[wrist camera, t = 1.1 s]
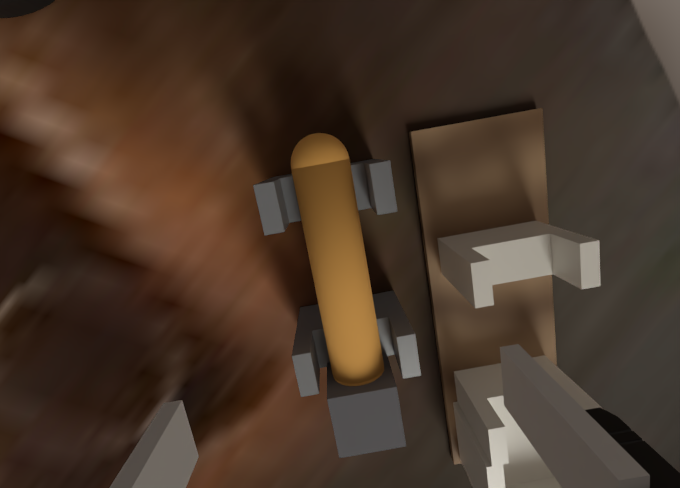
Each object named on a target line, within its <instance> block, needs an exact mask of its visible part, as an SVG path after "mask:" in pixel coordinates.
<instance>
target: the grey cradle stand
mask: <svg viewBox="0 0 680 488" xmlns="http://www.w3.org/2000/svg"><path fill="white" fill-rule="evenodd" d="M350 165H351V171H352V177H353V182H354V188H355V194H356V200H357V206H358V210H363V209H368V208H372V209H373V210H374V212H375V213H376V214H377V215H381V214H386V213H392V212H397V205H396V199H395V192H394V185H393V178H392V171H391V164H390V160H379V159H370V160H365V161H359V162H354V163H350ZM253 186H254V191H255V195H256V200H257V204H258V208H259V213H260V217H261V222H262V226H263V231H264V235H270V234H275V233H281V232H285V230H286V228H287V226H288V224H289V223H291V222H296V221H301V216H300V211H299V206H298V201H297V196H296V191H295V186H294V181H293V176H292V174H288V175H282V176H277V177H272V178H269V179H267V180H265V181H262V182H260V183H258V184H255V185H253ZM372 296H373V302H374V308H375V314H376V320H377V326H378V332H379V338H380V344H381V350H382V353H385V352H386V354H387V356H389V355H394V354H395V357H396V360H397V363H398V365H399V368H400V371H401V374H402V377H403V379H404V378H410V377H415V376H421V371H420V365H419V358H418V351H417V344H416V337H415V333H414V331H413V329H412V327H411V325H410V323H409V321H408V319H407V317H406V315H405V313H404V311H403V309H402V307H401V305H400V303H399V301H398V299H397V297H396V295H395V292H394V291H388V292H383V293H377V294H372ZM292 359H293V363H294V368H295V372H296V377H297V381H298V386H299V390H300V394H301V397H303V396H309V395H315V394H319V378H320V368H322V367H327V363H329V362H330V359H329V354H328V349H327V344H326V339H325V334H324V329H323V325H322V320H321V315H320V310H319V305H318V304H316V305H310V306H305V307H300V311H299V317H298V323H297V329H296V334H295V340H294V346H293V352H292Z"/></svg>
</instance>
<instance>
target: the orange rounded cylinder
mask: <svg viewBox="0 0 680 488" xmlns="http://www.w3.org/2000/svg"><path fill="white" fill-rule="evenodd" d="M291 171H292V176H293V181H294V186H295V191H296V196H297V201H298V206H299V211H300V216H301V221H302V226H303V230H304V235H305V240H306V245H307V250H308V255H309V260H310V265H311V270H312V275H313V280H314V285H315V290H316V295H317V300H318V305H319V310H320V315H321V320H322V325H323V329H324V334H325V339H326V344H327V349H328V354H329V359H330V362H329V363H327V400H328V405H329V410H330V415H331V420H332V424H333V429H334V434H335V439H336V444H337V448H338V453H339V458H343V457H349V456H354V455H360V454H366V453H371V452H377V451H382V450H388V449H394V448H399V447H405V446H406V442H405V436H404V430H403V423H402V417H401V411H400V405H399V399H398V392H397V387H396V383H395V380H394V377H393V373H392V370H391V367H390V363H389V360H388V357H387V354H386V352H385V353H382V350H381V344H380V338H379V332H378V326H377V320H376V314H375V308H374V302H373V296H372V290H371V284H370V278H369V272H368V266H367V260H366V254H365V248H364V242H363V236H362V230H361V224H360V218H359V212H358V206H357V200H356V194H355V188H354V182H353V177H352V171H351V165H350V159H349V155H348V152H347V150H346V148H345V146H344V145H343V144H342V142H341V141H339V140H338V139H337V138H335V137H334V136H332V135H329V134H326V133H314V134H310V135H308V136H306V137H304V138H303V139H302V140H300V141H299V142H298V144H297V145H296V146H295V148H294V150H293V152H292V156H291Z"/></svg>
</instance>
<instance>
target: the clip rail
mask: <svg viewBox="0 0 680 488" xmlns="http://www.w3.org/2000/svg"><path fill="white" fill-rule="evenodd" d="M409 139H410V147H411V154H412V162H413V170H414V177H415V185H416V192H417V200H418V207H419V215H420V223H421V230H422V238H423V245H424V253H425V260H426V268H427V276H428V283H429V291H430V298H431V306H432V314H433V321H434V329H435V336H436V344H437V351H438V359H439V367H440V374H441V382H442V389H443V397H444V405H445V412H446V420H447V427H448V435H449V442H450V450H451V458H452V460H453V463H454V465H455V464H460V463H462V462H461V460H460V454H459V446H458V438H457V430H456V422H455V414H454V407H453V402H457V394H456V386H455V378H454V371H459V370H465V369H470V368H476V367H481V366H487V365H493V364H498V363H501V356H500V347H503V346H509V345H515V344H519V345H520V346H521V347H522V348H523V349H524V350H525V351H526V352H527V353H528V354H529V355H530V356H531V357H538V356H543V355H545V356H546V357H547V358H548V359H549V360H550V361H552V362H553V363H554V364H555V365H556V366H557V360H556V342H555V324H554V307H553V289H552V275H546V276H541V277H535V278H530V279H524V280H519V281H513V282H507V283H502V284H496V285H492V288H493V299H494V305H492V306H486V307H481V308H474V307H473V306H472V304H471V303H470V302H469V301H468V300H467V299H466V298H465V297H464V296H463V295H462V294H461V293H460V292H459V291H458V290H457V289H456V288H455V287H454V286H453V285H452V284H451V283H450V282H449V281H448V280H447V279H446V278H445V277H444V276H443V275H442V272H441V264H440V256H439V248H438V240H437V238H442V237H448V236H454V235H459V234H465V233H470V232H476V231H481V230H487V229H492V228H498V227H503V226H509V225H515V224H520V223H526V222H531V221H539V222H542V223H545V224H549V217H548V200H547V182H546V164H545V146H544V128H543V110H542V108H539V109H533V110H528V111H522V112H517V113H511V114H506V115H500V116H495V117H489V118H484V119H478V120H473V121H467V122H462V123H456V124H451V125H445V126H440V127H434V128H429V129H423V130H418V131H412V132H409Z"/></svg>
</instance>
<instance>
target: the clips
mask: <svg viewBox="0 0 680 488" xmlns="http://www.w3.org/2000/svg"><path fill="white" fill-rule="evenodd" d="M437 240H438V248H439V256H440V264H441V272H442V275H443V276H444V277H445V278H446V279H447V280H448V281H449V282H450V283H451V284H452V285H453V286H454V287H455V288H456V289H457V290H458V291H459V292H460V293H461V294H462V295H463V296H464V297H465V298H466V299H467V300H468V301H469V302H470V303H471V304H472V306H473V307H474V308H481V307H486V306H492V305H494V299H493V288H492V285H496V284H502V283H507V282H513V281H519V280H524V279H530V278H535V277H541V276H546V275H552V274H553V275H555V276H557V277H559V278H561V279H563V280H565V281H567V282H569V283H570V284H572V285H574V286H576V287H578V288H580V289H587V288H592V287H598V286H600V251H599V240H596V239H593V238H590V237H587V236H584V235H581V234H577V233H574V232H571V231H568V230H565V229H561V228H558V227H555V226H552V225H549V224H545V223H542V222H539V221H531V222H526V223H520V224H515V225H509V226H503V227H498V228H492V229H487V230H481V231H476V232H470V233H465V234H459V235H454V236H448V237H442V238H437ZM532 358H533V359H534V360H535V361H536V362H537V363H538V364H539V365H540V366H541V367H542V368H543V369H544V370H545V371H546V372H547V373H548V374H549V375H550V376H551V377H552V378H553V379H554V380H555V381H556V382H557V383H558V384H559V385H560V386H561V387H562V388H563V389H564V390H565V391H566V392H567V393H568V394H569V395H570V396H571V397H572V398H573V399H574V400H575V401H576V402H577V403H578V404H579V405H580V406H581V407H582V408H583V409H584V410H588V409H594V408H602V407H601V406H600V405H598V404H597V403H596V402H595V401H594V400H593V399H592V398H591V397H590V396H589V395H588V394H586V393H585V392H584V391H583V390H582V389H581V388H580V387H579V386H578V385H577V384H576V383H574V382H573V381H572V380H571V379H570V378H569V377H568V376H567V375H566V374H565V373H564V372H562V371H561V370H560V369H559V368H558V367H557V366H556V365H555V364H554V363H553V362H552V361H550V360H549V359H548V358H547V357H546V356H545V355H543V356H538V357H532ZM454 378H455V386H456V394H457V402H453V407H454V414H455V422H456V430H457V438H458V446H459V454H460V460H461V462H462V464H463V467H464V469H465V471H466V473H467V476H468V478H469V480H470V482H471V485H472V487H473V488H562V487H561V485H560V484H559V483H558V481H557V480H556V478H555V477H554V476H553V474H552V473H551V471H550V470H549V468H548V467H547V466H546V464H545V463H544V461H543V460H542V459H541V457H540V456H539V454H538V453H537V451H536V450H535V449H534V447H533V446H532V444H531V443H530V441H529V440H528V439H527V437H526V436H525V434H524V433H523V432H522V430H521V429H520V427H519V426H518V424H517V423H516V422H515V420H514V419H513V417H512V416H511V414H510V413H509V412H508V410H507V409H506V407H505V406H504V397H503V384H502V370H501V363H498V364H493V365H487V366H481V367H476V368H470V369H465V370H459V371H454ZM602 409H603V408H602Z"/></svg>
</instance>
